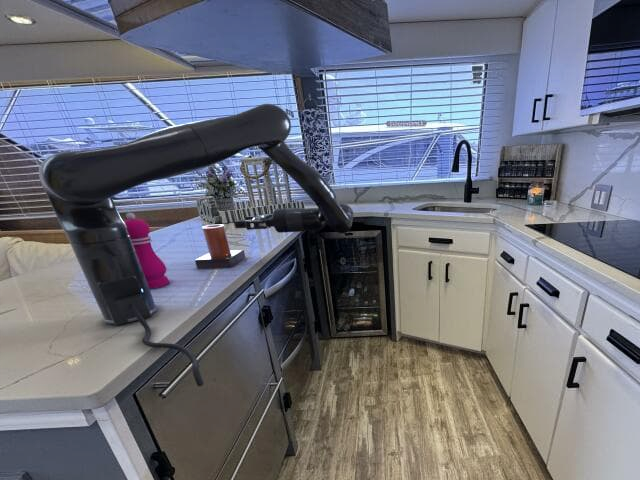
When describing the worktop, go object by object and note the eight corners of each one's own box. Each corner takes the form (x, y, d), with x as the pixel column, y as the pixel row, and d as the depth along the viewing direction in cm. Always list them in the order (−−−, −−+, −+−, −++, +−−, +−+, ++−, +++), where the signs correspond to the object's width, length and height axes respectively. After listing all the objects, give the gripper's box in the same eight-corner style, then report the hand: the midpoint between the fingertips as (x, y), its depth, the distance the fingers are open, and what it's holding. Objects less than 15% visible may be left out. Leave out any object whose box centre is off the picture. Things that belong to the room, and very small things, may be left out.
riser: (230, 267, 104) (228, 258, 103) (197, 268, 104) (194, 259, 103) (245, 258, 114) (243, 249, 113) (215, 259, 114) (212, 251, 113)
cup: (233, 254, 108) (226, 225, 104) (213, 258, 104) (204, 228, 100) (227, 251, 112) (220, 223, 108) (208, 255, 108) (200, 226, 104)
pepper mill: (134, 288, 89) (105, 214, 81) (160, 279, 95) (135, 210, 87) (151, 290, 86) (122, 215, 78) (176, 282, 92) (153, 210, 84)
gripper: (295, 205, 109) (247, 207, 109) (281, 211, 95) (227, 213, 96) (299, 227, 112) (252, 229, 112) (286, 236, 98) (233, 238, 99)
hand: (241, 222), depth 104 cm, fingers open, 8 cm apart
